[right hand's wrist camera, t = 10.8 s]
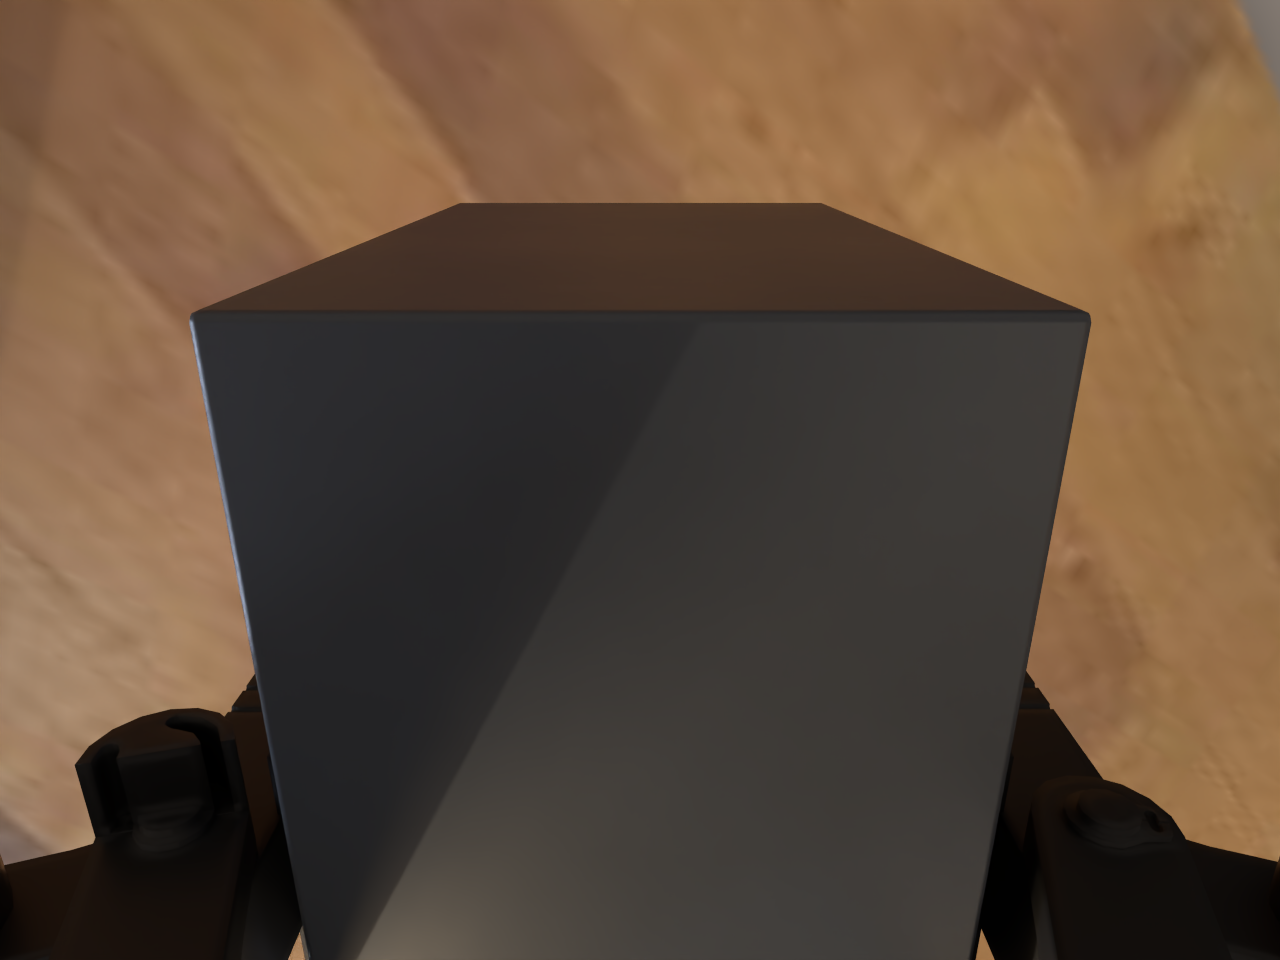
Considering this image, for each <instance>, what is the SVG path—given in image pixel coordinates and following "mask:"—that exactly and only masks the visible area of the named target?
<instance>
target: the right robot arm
mask: <svg viewBox="0 0 1280 960" xmlns="http://www.w3.org/2000/svg"><path fill="white" fill-rule="evenodd" d="M1049 705H1050V704H1049V702H1048V701H1047V700H1046V698H1045V697H1044V695H1043V694H1042V693H1041V691H1040V690H1039V688H1035V683H1034V681H1033V680H1032V678H1031V677H1030V676H1029V674H1028V673H1027V671H1026V673H1025V679H1024V684H1023V689H1022V695H1021V700H1020V705H1019V711H1018V716H1017V721H1016V727H1015V732H1014V737H1013V743H1012V748H1011V753H1010V759H1009V764H1008V769H1007V775H1006V780H1005V785H1004V791H1003V796H1002V801H1001V807H1000V812H999V817H998V823H997V828H996V833H995V839H994V844H993V849H992V855H991V860H990V865H989V871H988V876H987V881H986V887H985V892H984V897H983V903H982V908H981V913H980V919H979V924H978V929H977V934H976V940H975V945H974V951H973V956H972V960H975V959H976V954H977V949H978V944H979V938H980V933H981V929H982V931H983V933H984V936H985V938H986V940H987V943H988V945H989V947H990V950H991V952H992V954H993V957H994V959H995V960H1280V858H1279V861H1278V862H1276V861H1272V860H1267V859H1263V858H1258V857H1254V856H1249V855H1245V854H1240V853H1236V852H1232V851H1227V850H1223V849H1218V848H1214V847H1209V846H1206V845H1203V844H1199V843H1196V842H1192V841H1189V840H1186V839H1185V836H1184V835H1183V833H1182V832H1181V830H1180V829H1179V827H1178V826H1177V824H1176V823H1175V821H1174V820H1173V818H1172V817H1171V816H1170V815H1169V814H1168V813H1166V812H1165V811H1164V810H1163V809H1162V808H1160V807H1159V806H1158V805H1157V804H1155V803H1154V802H1153V801H1152V800H1151V799H1149V798H1147V797H1145V796H1143V795H1141V794H1139V793H1137V792H1136V791H1134V790H1132V789H1130V788H1128V787H1126V786H1124V785H1121V784H1118V783H1114V782H1111V781H1107V780H1103V778H1102V777H1101V775H1100V774H1099V773H1098V771H1097V770H1096V768H1095V767H1094V766H1093V764H1092V763H1091V761H1090V760H1089V759H1088V757H1087V756H1086V754H1085V753H1084V752H1083V750H1082V749H1081V747H1080V746H1079V745H1078V743H1077V742H1076V740H1075V739H1074V738H1073V736H1072V735H1071V733H1070V732H1069V730H1068V729H1067V728H1066V726H1065V725H1064V723H1063V722H1062V721H1061V719H1060V718H1059V716H1058V715H1057V714H1056V712H1055V711H1054V709H1050V706H1049ZM75 768H76V771H77V775H78V778H79V782H80V785H81V789H82V792H83V796H84V799H85V802H86V806H87V809H88V813H89V816H90V820H91V823H92V827H93V830H94V834H95V837H96V838H95V840H94V843H93V844H91V845H87V846H84V847H80V848H77V849H74V850H70V851H65V852H61V853H56V854H52V855H47V856H43V857H39V858H34V859H30V860H25V861H21V862H17V863H12V864H8V865H4V864H3V861H2V858H1V855H0V960H288V958H289V956H290V953H291V951H292V949H293V946H294V944H295V942H296V939H297V937H298V935H299V932H300V935H301V940H302V945H303V951H304V956H305V960H309V957H308V952H307V947H306V941H305V936H304V931H303V925H302V920H301V915H300V909H299V904H298V899H297V893H296V888H295V883H294V877H293V872H292V867H291V861H290V856H289V851H288V846H287V840H286V835H285V830H284V824H283V819H282V814H281V808H280V803H279V798H278V792H277V787H276V782H275V776H274V771H273V766H272V760H271V755H270V750H269V744H268V739H267V734H266V728H265V723H264V718H263V712H262V707H261V702H260V696H259V691H258V686H257V680H256V675H254V676H253V677H252V679H251V680H250V682H249V683H248V685H247V689H246V691H243V692H242V693H241V694H240V696H239V697H238V699H237V700H236V702H235V703H234V704H233V706H232V711H231V712H228V713H227V714H226V716H225V717H224V716H223V715H221V714H220V713H217V712H213V711H209V710H204V709H200V708H189V709H170V710H166V711H162V712H158V713H154V714H150V715H146V716H142V717H139V718H137V719H135V720H133V721H130V722H128V723H126V724H124V725H122V726H119V727H117V728H115V729H113V730H111V731H110V732H108V733H107V734H106V735H104V736H103V737H101V738H100V739H99V740H97V741H96V742H94V743H93V744H92V745H90V746H89V747H88V748H87V750H86V751H85V752H84V754H83V755H82V756H81V758H80V759H79V760H78V761H77V763H76V764H75Z"/></svg>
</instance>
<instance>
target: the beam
mask: <svg viewBox="0 0 1280 960" xmlns="http://www.w3.org/2000/svg"><path fill="white" fill-rule="evenodd" d="M189 323H190V329H191V334H192V339H193V345H194V350H195V355H196V361H197V366H198V371H199V377H200V382H201V387H202V393H203V398H204V403H205V409H206V414H207V419H208V425H209V430H210V435H211V441H212V446H213V451H214V457H215V462H216V467H217V473H218V478H219V483H220V489H221V494H222V499H223V505H224V510H225V515H226V521H227V526H228V531H229V537H230V542H231V547H232V553H233V558H234V563H235V568H236V574H237V579H238V584H239V590H240V595H241V600H242V606H243V611H244V616H245V622H246V627H247V632H248V638H249V643H250V648H251V654H252V659H253V664H254V670H255V675H256V680H257V686H258V691H259V696H260V702H261V707H262V712H263V718H264V723H265V728H266V734H267V739H268V744H269V750H270V755H271V760H272V766H273V771H274V776H275V782H276V787H277V792H278V798H279V803H280V808H281V814H282V819H283V824H284V830H285V835H286V840H287V846H288V851H289V856H290V861H291V867H292V872H293V877H294V883H295V888H296V893H297V899H298V904H299V909H300V915H301V920H302V925H303V931H304V936H305V941H306V947H307V952H308V957H309V960H972V956H973V951H974V945H975V940H976V934H977V929H978V924H979V919H980V913H981V908H982V903H983V897H984V892H985V887H986V881H987V876H988V871H989V865H990V860H991V855H992V849H993V844H994V839H995V833H996V828H997V823H998V817H999V812H1000V807H1001V801H1002V796H1003V791H1004V785H1005V780H1006V775H1007V769H1008V764H1009V759H1010V753H1011V748H1012V743H1013V737H1014V732H1015V727H1016V721H1017V716H1018V711H1019V705H1020V700H1021V695H1022V689H1023V684H1024V679H1025V673H1026V668H1027V663H1028V657H1029V652H1030V647H1031V641H1032V636H1033V631H1034V625H1035V620H1036V615H1037V609H1038V604H1039V599H1040V593H1041V588H1042V583H1043V577H1044V572H1045V567H1046V561H1047V556H1048V551H1049V545H1050V540H1051V535H1052V529H1053V524H1054V519H1055V513H1056V508H1057V503H1058V497H1059V492H1060V487H1061V481H1062V476H1063V471H1064V465H1065V460H1066V455H1067V449H1068V444H1069V439H1070V433H1071V428H1072V423H1073V417H1074V412H1075V407H1076V401H1077V396H1078V391H1079V385H1080V380H1081V375H1082V369H1083V364H1084V359H1085V353H1086V348H1087V343H1088V337H1089V332H1090V327H1091V318H1090V315H1089V313H1087V312H1085V311H1083V310H1080V309H1078V308H1076V307H1073V306H1071V305H1068V304H1066V303H1063V302H1061V301H1059V300H1056V299H1054V298H1051V297H1049V296H1046V295H1044V294H1041V293H1039V292H1037V291H1034V290H1032V289H1029V288H1027V287H1024V286H1022V285H1019V284H1017V283H1015V282H1012V281H1010V280H1007V279H1005V278H1002V277H1000V276H998V275H995V274H993V273H990V272H988V271H985V270H983V269H980V268H978V267H976V266H973V265H971V264H968V263H966V262H963V261H961V260H958V259H956V258H954V257H951V256H949V255H946V254H944V253H941V252H939V251H937V250H934V249H932V248H929V247H927V246H924V245H922V244H919V243H917V242H915V241H912V240H910V239H907V238H905V237H902V236H900V235H897V234H895V233H893V232H890V231H888V230H885V229H883V228H880V227H878V226H876V225H873V224H871V223H868V222H866V221H863V220H861V219H858V218H856V217H854V216H851V215H849V214H846V213H844V212H841V211H839V210H836V209H834V208H832V207H829V206H827V205H824V204H822V203H459V204H457V205H454V206H452V207H450V208H447V209H445V210H442V211H440V212H437V213H435V214H432V215H430V216H428V217H425V218H423V219H420V220H418V221H415V222H413V223H410V224H408V225H406V226H403V227H401V228H398V229H396V230H393V231H391V232H388V233H386V234H384V235H381V236H379V237H376V238H374V239H371V240H369V241H366V242H364V243H362V244H359V245H357V246H354V247H352V248H349V249H347V250H344V251H342V252H340V253H337V254H335V255H332V256H330V257H327V258H325V259H322V260H320V261H318V262H315V263H313V264H310V265H308V266H305V267H303V268H300V269H298V270H296V271H293V272H291V273H288V274H286V275H283V276H281V277H278V278H276V279H274V280H271V281H269V282H266V283H264V284H261V285H259V286H256V287H254V288H252V289H249V290H247V291H244V292H242V293H239V294H237V295H234V296H232V297H230V298H227V299H225V300H222V301H220V302H217V303H215V304H212V305H210V306H208V307H205V308H203V309H200V310H198V311H196V312H193V313H192V314H191V316H190V322H189Z"/></svg>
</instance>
